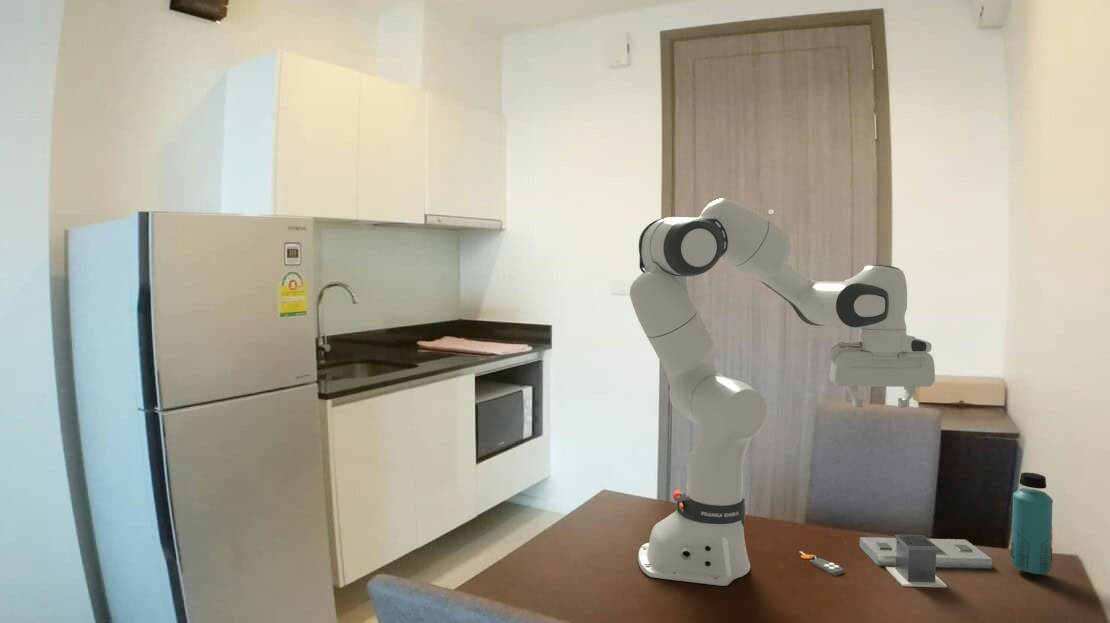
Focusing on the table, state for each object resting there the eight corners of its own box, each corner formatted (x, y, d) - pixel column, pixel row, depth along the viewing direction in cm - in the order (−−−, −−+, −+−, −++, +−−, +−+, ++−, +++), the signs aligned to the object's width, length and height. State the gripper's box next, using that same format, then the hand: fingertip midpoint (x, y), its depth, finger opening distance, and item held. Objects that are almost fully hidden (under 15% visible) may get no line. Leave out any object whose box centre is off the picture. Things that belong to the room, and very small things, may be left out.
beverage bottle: (1058, 583, 118) (1063, 481, 117) (1019, 580, 120) (1023, 478, 118) (1039, 567, 125) (1043, 470, 123) (1002, 565, 126) (1006, 468, 125)
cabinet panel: (877, 565, 126) (878, 554, 126) (859, 546, 135) (859, 535, 135) (991, 568, 125) (991, 557, 124) (965, 548, 134) (965, 538, 133)
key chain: (846, 574, 124) (846, 567, 124) (833, 578, 122) (833, 571, 122) (795, 548, 135) (795, 542, 135) (782, 552, 134) (783, 545, 134)
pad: (902, 586, 118) (902, 584, 118) (885, 568, 125) (885, 566, 125) (946, 587, 117) (946, 585, 117) (927, 569, 124) (927, 567, 124)
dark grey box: (907, 582, 119) (908, 546, 118) (894, 568, 124) (894, 534, 123) (936, 583, 118) (937, 547, 118) (922, 569, 124) (923, 535, 123)
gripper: (836, 343, 129) (835, 409, 129) (940, 343, 127) (937, 410, 128) (825, 340, 135) (824, 403, 136) (924, 340, 133) (922, 404, 134)
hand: (880, 407), depth 132 cm, fingers open, 8 cm apart
